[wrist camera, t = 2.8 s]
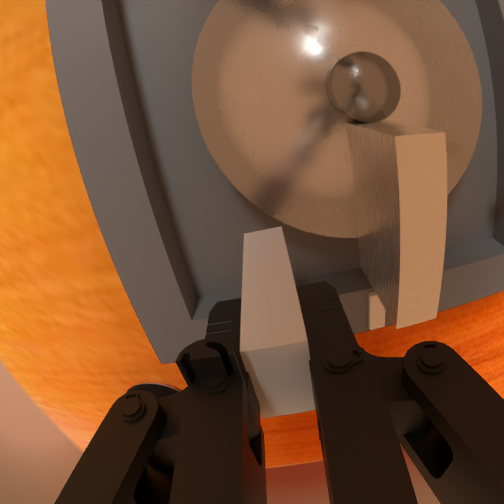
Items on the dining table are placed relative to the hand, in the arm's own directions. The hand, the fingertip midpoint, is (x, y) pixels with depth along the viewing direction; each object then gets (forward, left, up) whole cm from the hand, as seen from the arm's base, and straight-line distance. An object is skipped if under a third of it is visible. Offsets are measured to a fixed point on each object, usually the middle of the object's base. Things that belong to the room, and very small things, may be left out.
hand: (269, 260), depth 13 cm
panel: (-6, +5, -5) cm, 10 cm away
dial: (-5, +5, -4) cm, 8 cm away
